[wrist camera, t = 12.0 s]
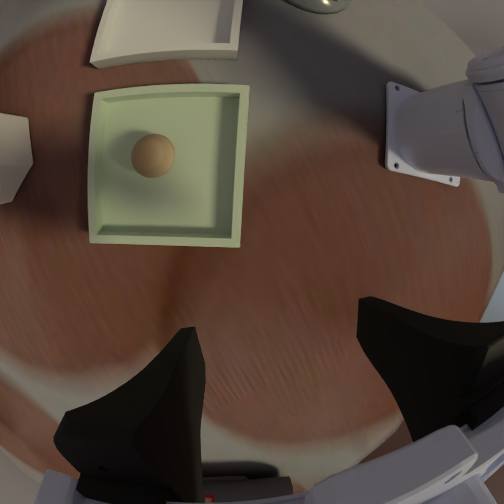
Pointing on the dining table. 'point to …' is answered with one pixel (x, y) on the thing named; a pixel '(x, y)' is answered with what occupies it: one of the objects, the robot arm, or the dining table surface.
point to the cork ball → (153, 155)
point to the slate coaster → (320, 5)
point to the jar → (13, 154)
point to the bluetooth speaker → (244, 488)
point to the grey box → (166, 31)
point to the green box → (180, 174)
